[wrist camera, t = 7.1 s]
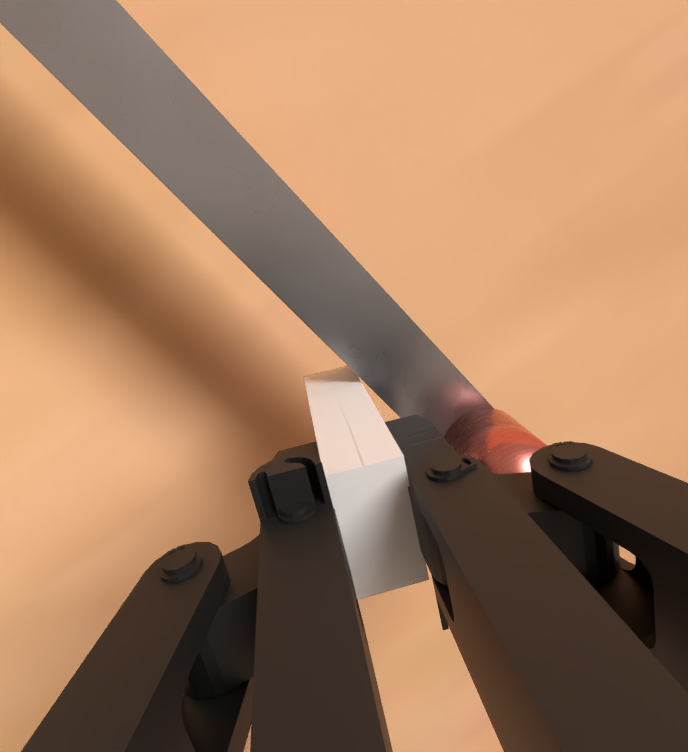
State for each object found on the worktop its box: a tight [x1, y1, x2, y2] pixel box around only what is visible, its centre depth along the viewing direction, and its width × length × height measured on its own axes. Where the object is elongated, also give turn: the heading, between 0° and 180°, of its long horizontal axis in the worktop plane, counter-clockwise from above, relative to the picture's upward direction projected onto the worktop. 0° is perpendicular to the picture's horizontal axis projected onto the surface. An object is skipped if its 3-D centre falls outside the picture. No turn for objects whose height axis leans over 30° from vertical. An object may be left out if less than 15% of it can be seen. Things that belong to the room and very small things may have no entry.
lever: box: [0, 0, 547, 474], centre depth 11 cm, size 4×26×5 cm, turn 44°
